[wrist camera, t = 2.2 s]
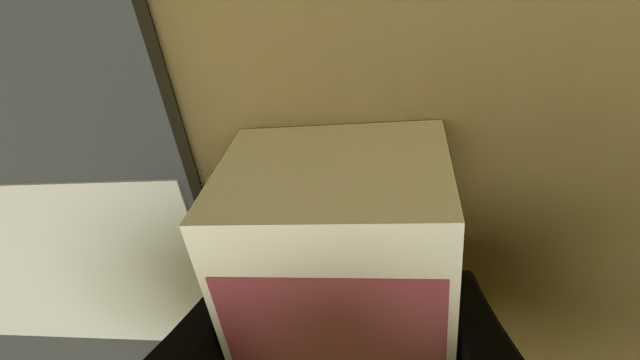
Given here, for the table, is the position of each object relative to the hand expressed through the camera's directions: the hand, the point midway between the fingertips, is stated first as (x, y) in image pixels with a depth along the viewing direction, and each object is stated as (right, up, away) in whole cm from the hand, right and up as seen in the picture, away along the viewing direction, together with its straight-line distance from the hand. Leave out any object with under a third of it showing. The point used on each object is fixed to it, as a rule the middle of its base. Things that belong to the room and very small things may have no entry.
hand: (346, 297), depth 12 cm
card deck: (0, +1, +1) cm, 2 cm away
